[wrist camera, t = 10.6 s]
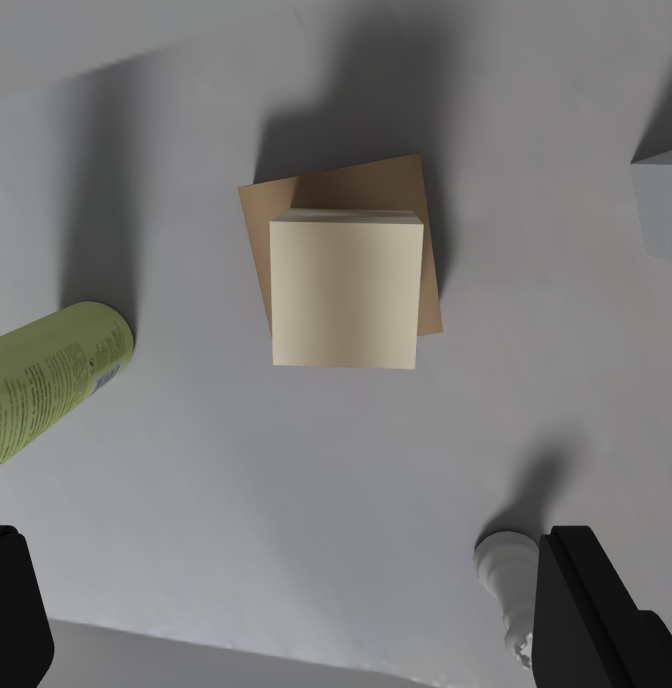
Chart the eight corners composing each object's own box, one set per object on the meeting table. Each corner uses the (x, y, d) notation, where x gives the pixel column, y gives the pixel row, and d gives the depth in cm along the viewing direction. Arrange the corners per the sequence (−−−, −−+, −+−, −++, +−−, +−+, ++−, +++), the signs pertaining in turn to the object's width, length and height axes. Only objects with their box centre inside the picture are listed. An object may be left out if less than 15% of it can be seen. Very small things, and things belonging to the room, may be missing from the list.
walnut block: (414, 153, 30) (420, 152, 26) (434, 311, 33) (442, 331, 29) (254, 184, 31) (237, 187, 27) (287, 335, 34) (276, 357, 30)
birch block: (412, 210, 27) (423, 224, 21) (405, 327, 29) (414, 369, 23) (289, 208, 27) (269, 221, 22) (291, 324, 29) (273, 364, 24)
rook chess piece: (474, 525, 37) (502, 619, 29) (543, 528, 37) (588, 625, 29) (468, 579, 38) (493, 683, 31) (534, 582, 38) (575, 688, 30)
